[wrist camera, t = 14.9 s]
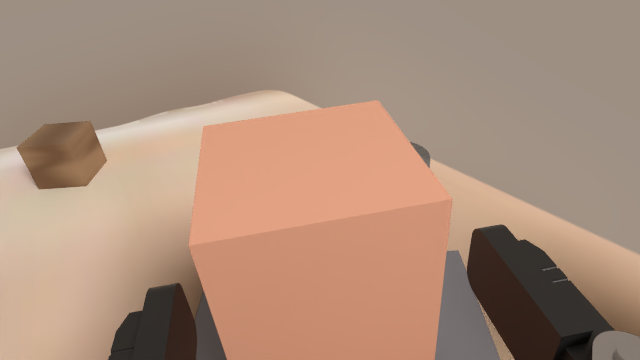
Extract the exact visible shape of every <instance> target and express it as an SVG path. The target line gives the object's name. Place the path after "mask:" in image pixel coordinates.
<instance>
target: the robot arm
mask: <svg viewBox="0 0 640 360" xmlns="http://www.w3.org/2000/svg"><path fill="white" fill-rule="evenodd" d="M467 276H468V280H469V284H470V286H471V288H472V290H473V292H474V294H475V295H476V297H477V299H478V300H479V302H480V303H481V305H482V307H483V308H484V310H485V312H486V313H487V315H488V316H489V318H490V320H491V321H492V323H493V325H494V326H495V328H496V329H497V331H498V333H499V334H500V336H501V338H502V339H503V341H504V342H505V344H506V346H507V347H508V349H509V351H510V352H511V354H512V355H513V357H514V359H515V360H640V337H638V336H636V335H633V334H630V333H626V332H622V331H615V330H614V329H613V328H612V327H611V326H610V325H609V324H608V323H607V321H606V320H605V319H604V318H603V317H602V316H601V315H600V314H599V312H598V311H597V310H596V309H595V308H594V307H593V306H592V305H591V303H590V302H589V301H588V300H587V299H586V298H585V297H584V296H583V295H582V293H581V292H580V291H579V290H578V289H577V288H576V287H575V286H574V284H573V283H572V282H571V281H568V279H567V277H566V275H565V274H564V273H563V272H562V271H561V270H560V269H559V268H557V265H556V264H555V263H554V262H553V261H552V260H551V259H550V258H549V256H548V255H547V254H546V253H545V252H544V251H543V250H541V249H540V248H538V247H537V246H535V245H533V244H532V243H530V242H528V241H527V240H520V241H518V240H517V239H516V238H515V237H514V235H513V234H512V233H511V232H510V231H509V230H508V228H507V227H506V226H504V225H495V226H490V227H484V228H478V229H475V230H474V231H473V233H472V238H471V245H470V252H469V258H468V265H467ZM196 352H197V330H196V324H195V320H194V318H193V315H192V312H191V310H190V307H189V304H188V302H187V299H186V296H185V294H184V291H183V288H182V286H181V285H180V284H179V283H176V284H171V285H165V286H159V287H154V288H149V289H148V291H147V294H146V298H145V302H144V307H143V311H138V312H132V313H129V314H128V316H127V317H126V319H125V320H124V321H123V323H122V324H121V326H120V327H119V328H118V330H117V331H116V334H115V338H114V341H113V345H112V348H111V355H110V356H109V359H108V360H196Z"/></svg>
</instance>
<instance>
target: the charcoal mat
mask: <svg viewBox="0 0 640 360" xmlns="http://www.w3.org/2000/svg"><path fill="white" fill-rule="evenodd" d="M195 324H196V330H197V352H196V360H227V358H226V355H225V352H224V349H223V346H222V343H221V340H220V337H219V334H218V331H217V328H216V325H215V322H214V319H213V316H212V314H211V311H210V308H209V305H208V302H207V299H206V296H205V293H204V290H203V294H202V297H201V300H200V304H199V307H198V310H197V314H196V317H195ZM435 360H500V358H499V355H498V352H497V350H496V347H495V345H494V342H493V339H492V337H491V334H490V332H489V329H488V326H487V324H486V321H485V319H484V316H483V313H482V311H481V308H480V306H479V303H478V300H477V298H476V295H475V294H474V292H473V290H472V288H471V286H470V284H469V280H468V276H467V272H466V269H465V267H464V264H463V261H462V259H461V256H460V254H459V251H447V252H446V261H445V270H444V279H443V288H442V297H441V307H440V316H439V325H438V334H437V343H436V352H435Z"/></svg>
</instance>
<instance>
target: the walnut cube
mask: <svg viewBox="0 0 640 360" xmlns="http://www.w3.org/2000/svg"><path fill="white" fill-rule="evenodd" d="M17 149H18V151H19V153H20V155H21V157H22V159H23V160H24V162H25V164H26V166H27V168H28V170H29V171H30V173H31V175H32V177H33V179H34V181H35V182H36V184H37V186H38V188H39V189H51V188H66V187H80V186H87V185H88V184H89V182H90V181H91V180H92V179H93V177H94V176H95V175H96V174H97V172H98V171H99V170H100V169H101V168H102V166H103V165H104V164H105V163H106V161H107V160H106V157H105V155H104V152H103V150H102V148H101V145H100V143H99V140H98V138H97V136H96V133H95V131H94V128H93V126H92V124H91V122H90V121H85V122H72V123H58V124H46V125H43V126H42V127H41V128H40V129H39V130H37V131H36V132H35V133H34V134H33V135H31V136H30V137H29V138H28V139H27V140H25V141H24V142H23V143H22V144H20V145H19V146H18V147H17Z"/></svg>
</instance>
